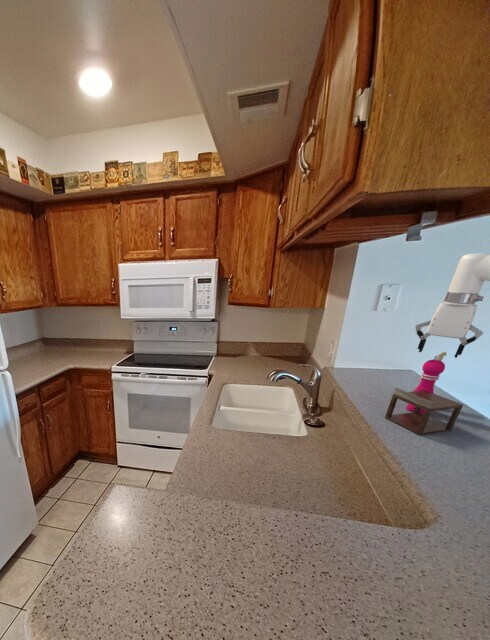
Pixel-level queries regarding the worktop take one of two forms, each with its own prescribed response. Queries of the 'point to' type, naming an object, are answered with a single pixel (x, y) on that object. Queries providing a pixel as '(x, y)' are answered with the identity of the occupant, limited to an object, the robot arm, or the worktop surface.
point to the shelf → (429, 404)
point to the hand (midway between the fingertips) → (437, 354)
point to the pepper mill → (429, 378)
